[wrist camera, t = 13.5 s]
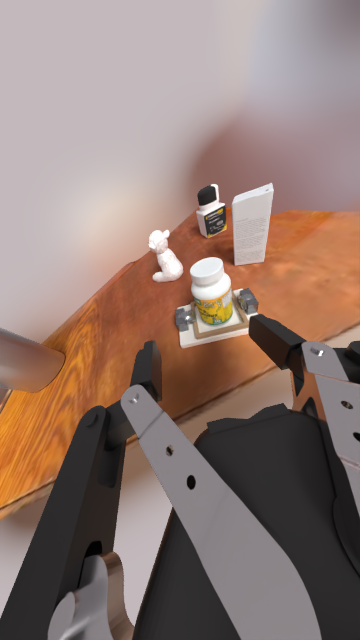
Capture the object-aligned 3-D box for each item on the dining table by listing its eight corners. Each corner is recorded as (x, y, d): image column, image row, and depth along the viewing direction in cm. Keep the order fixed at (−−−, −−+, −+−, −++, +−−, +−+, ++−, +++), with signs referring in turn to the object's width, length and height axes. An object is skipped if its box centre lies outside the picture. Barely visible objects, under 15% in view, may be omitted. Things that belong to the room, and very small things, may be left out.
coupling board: (182, 348, 22) (178, 343, 21) (179, 311, 28) (176, 305, 27) (264, 329, 19) (266, 323, 18) (242, 292, 25) (242, 285, 24)
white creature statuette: (175, 263, 42) (158, 221, 33) (194, 268, 36) (180, 218, 28) (153, 281, 40) (129, 241, 31) (170, 289, 34) (146, 242, 25)
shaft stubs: (180, 332, 23) (175, 324, 21) (179, 317, 26) (174, 309, 24) (257, 312, 20) (258, 302, 19) (247, 297, 23) (248, 287, 21)
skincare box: (263, 252, 30) (273, 181, 21) (263, 263, 28) (274, 189, 19) (235, 256, 33) (234, 195, 24) (233, 266, 31) (231, 203, 22)
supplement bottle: (238, 309, 22) (238, 254, 15) (222, 333, 20) (213, 284, 13) (211, 300, 25) (200, 252, 18) (195, 320, 24) (176, 276, 17)
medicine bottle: (207, 239, 45) (199, 193, 36) (200, 234, 49) (192, 192, 41) (227, 229, 44) (224, 180, 35) (218, 225, 49) (213, 181, 40)
